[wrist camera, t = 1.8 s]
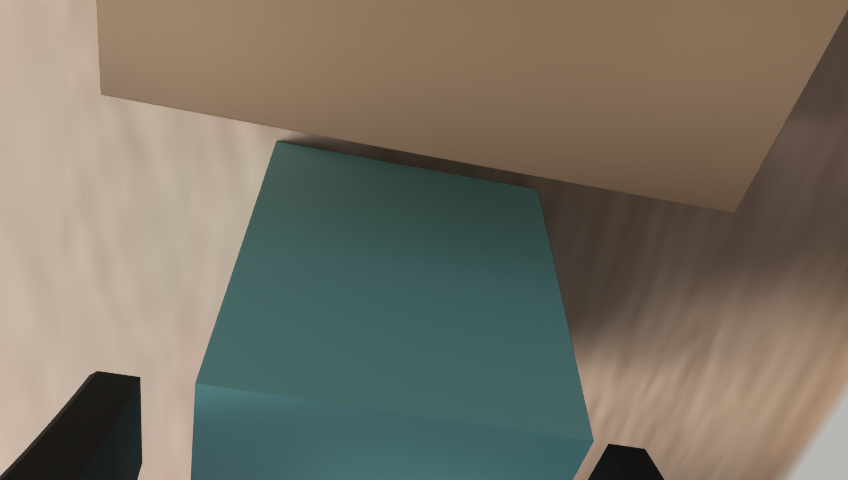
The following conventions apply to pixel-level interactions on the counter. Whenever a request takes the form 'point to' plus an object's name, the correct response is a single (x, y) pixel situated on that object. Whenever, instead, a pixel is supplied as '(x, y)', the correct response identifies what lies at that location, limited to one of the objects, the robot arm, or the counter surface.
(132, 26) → the walnut plinth
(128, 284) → the counter surface
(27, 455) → the robot arm
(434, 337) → the teal block
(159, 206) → the counter surface
